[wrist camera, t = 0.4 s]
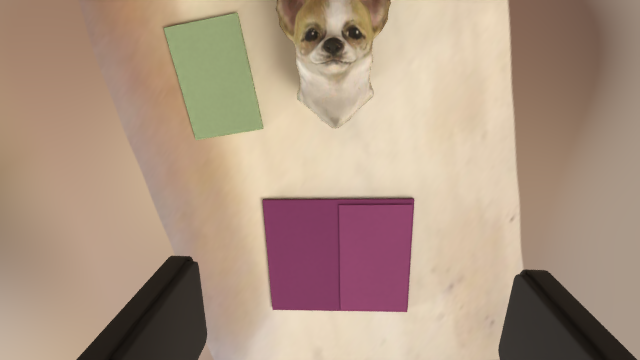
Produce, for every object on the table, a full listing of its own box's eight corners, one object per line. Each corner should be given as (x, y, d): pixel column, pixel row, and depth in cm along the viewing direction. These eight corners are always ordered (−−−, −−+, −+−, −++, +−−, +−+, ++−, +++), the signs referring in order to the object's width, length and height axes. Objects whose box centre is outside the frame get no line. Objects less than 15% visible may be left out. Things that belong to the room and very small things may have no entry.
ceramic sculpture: (273, 133, 29) (258, -68, 25) (288, 123, 37) (278, -28, 33) (398, 128, 28) (402, -78, 24) (384, 120, 37) (386, -35, 33)
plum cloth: (263, 199, 41) (262, 200, 40) (413, 198, 39) (414, 199, 39) (273, 308, 46) (272, 310, 45) (406, 310, 45) (407, 313, 44)
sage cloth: (164, 28, 35) (163, 27, 35) (237, 13, 34) (236, 12, 34) (196, 139, 39) (195, 140, 39) (263, 128, 38) (263, 129, 38)
